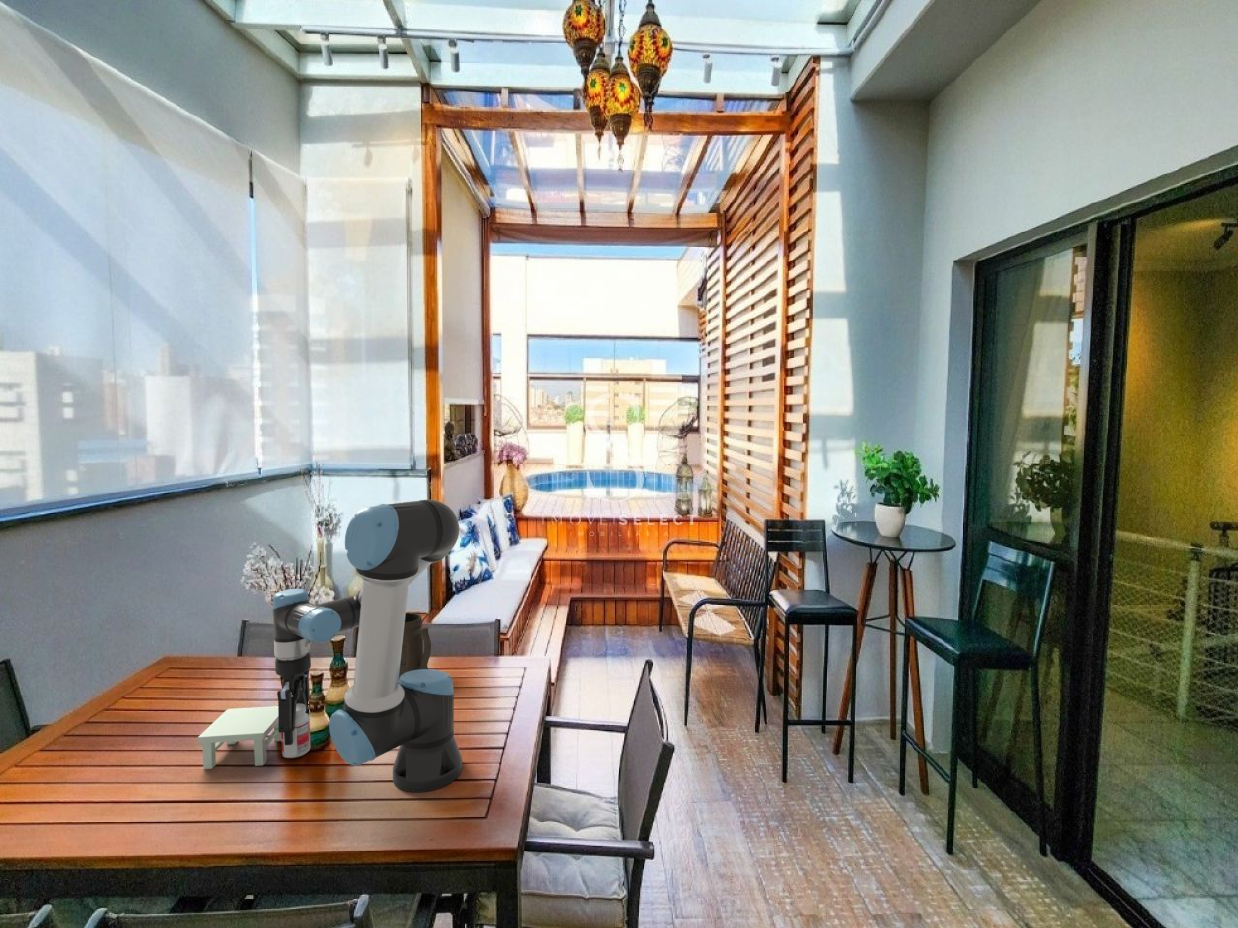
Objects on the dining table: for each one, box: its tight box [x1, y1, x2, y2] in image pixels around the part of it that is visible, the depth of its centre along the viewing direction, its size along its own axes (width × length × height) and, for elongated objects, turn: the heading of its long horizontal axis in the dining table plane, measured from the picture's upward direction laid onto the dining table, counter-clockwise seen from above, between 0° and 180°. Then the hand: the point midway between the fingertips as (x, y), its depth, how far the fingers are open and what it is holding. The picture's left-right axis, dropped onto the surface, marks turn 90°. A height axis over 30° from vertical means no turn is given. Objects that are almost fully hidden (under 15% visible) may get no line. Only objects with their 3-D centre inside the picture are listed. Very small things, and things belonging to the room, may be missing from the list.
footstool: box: [197, 705, 282, 770], centre depth 148 cm, size 14×14×8 cm
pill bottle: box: [281, 703, 312, 759], centre depth 147 cm, size 6×6×11 cm
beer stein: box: [398, 612, 432, 684], centre depth 189 cm, size 15×11×20 cm
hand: (296, 748), depth 147 cm, fingers closed on pill bottle, 6 cm apart
